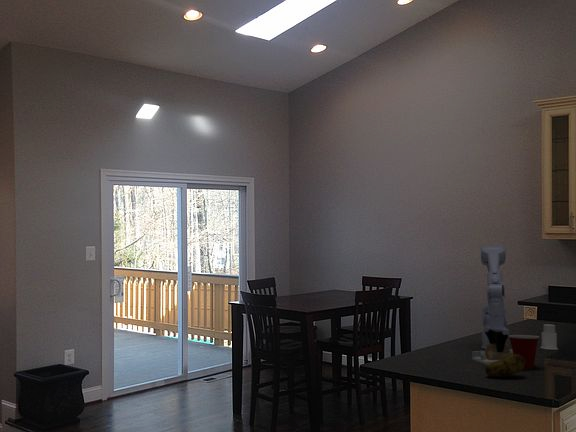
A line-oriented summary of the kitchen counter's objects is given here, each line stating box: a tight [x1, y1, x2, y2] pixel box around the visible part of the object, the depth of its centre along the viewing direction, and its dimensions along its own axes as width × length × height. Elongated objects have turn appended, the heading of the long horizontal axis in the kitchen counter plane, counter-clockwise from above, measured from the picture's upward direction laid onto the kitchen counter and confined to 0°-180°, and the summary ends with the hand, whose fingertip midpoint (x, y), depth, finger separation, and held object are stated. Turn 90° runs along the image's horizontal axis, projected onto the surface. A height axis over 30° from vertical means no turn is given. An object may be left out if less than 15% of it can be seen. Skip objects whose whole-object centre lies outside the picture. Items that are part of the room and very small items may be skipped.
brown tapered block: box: [484, 342, 510, 360], centre depth 244 cm, size 4×8×6 cm, turn 102°
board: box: [471, 348, 513, 366], centre depth 246 cm, size 11×18×4 cm, turn 102°
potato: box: [485, 354, 526, 378], centre depth 218 cm, size 8×13×8 cm, turn 68°
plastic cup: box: [508, 334, 541, 371], centre depth 232 cm, size 11×11×12 cm
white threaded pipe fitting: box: [540, 323, 559, 351], centre depth 268 cm, size 8×7×10 cm
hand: (497, 351), depth 244 cm, fingers closed on brown tapered block, 4 cm apart
